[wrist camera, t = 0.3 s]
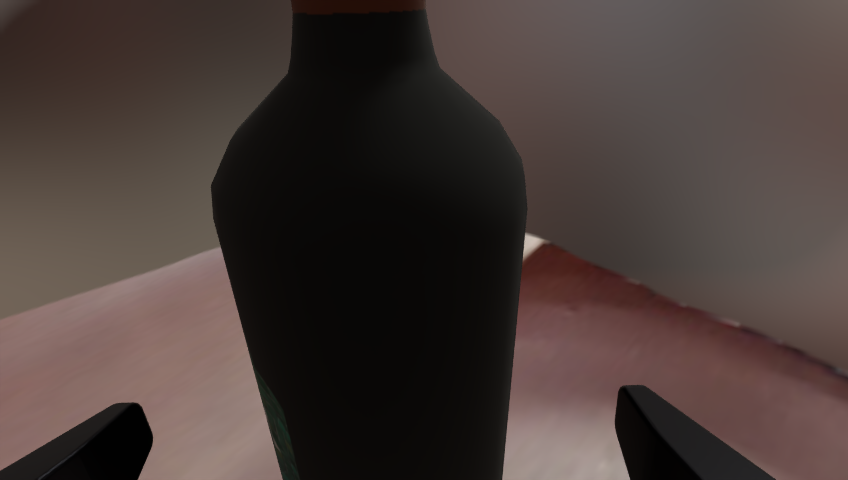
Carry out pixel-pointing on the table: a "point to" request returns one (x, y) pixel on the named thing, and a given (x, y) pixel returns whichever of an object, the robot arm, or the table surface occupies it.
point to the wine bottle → (375, 253)
